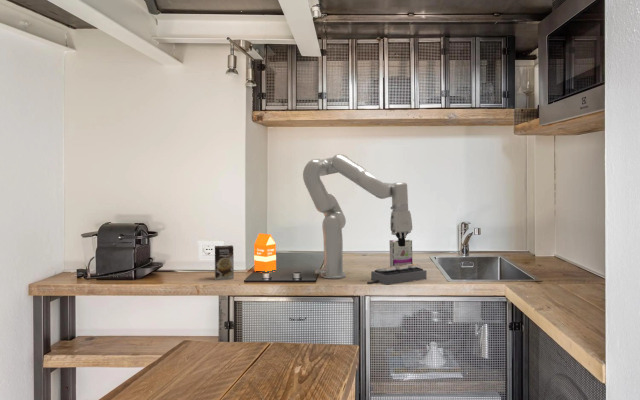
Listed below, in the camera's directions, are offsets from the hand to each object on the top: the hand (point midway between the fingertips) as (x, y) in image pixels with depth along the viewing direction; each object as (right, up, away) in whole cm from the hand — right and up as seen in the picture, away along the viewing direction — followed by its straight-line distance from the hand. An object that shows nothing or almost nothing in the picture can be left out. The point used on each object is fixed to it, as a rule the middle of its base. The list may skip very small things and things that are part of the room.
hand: (401, 246), depth 214 cm
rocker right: (+5, -11, +4) cm, 13 cm away
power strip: (-4, -16, 0) cm, 17 cm away
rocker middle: (-1, -11, +1) cm, 11 cm away
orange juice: (-69, -16, +24) cm, 75 cm away
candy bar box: (+3, -15, +20) cm, 26 cm away
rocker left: (-8, -11, -3) cm, 14 cm away
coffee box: (-87, -17, +8) cm, 89 cm away
